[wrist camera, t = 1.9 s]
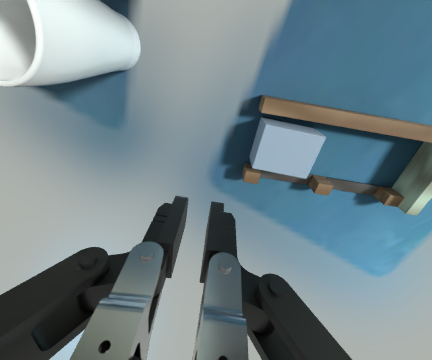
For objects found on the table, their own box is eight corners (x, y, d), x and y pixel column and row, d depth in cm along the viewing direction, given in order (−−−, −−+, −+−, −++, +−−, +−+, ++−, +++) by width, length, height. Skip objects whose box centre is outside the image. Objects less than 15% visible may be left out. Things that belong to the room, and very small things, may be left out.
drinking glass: (89, 67, 24) (-81, 68, 11) (86, -6, 20) (-165, -137, 7) (146, 84, 24) (51, 104, 11) (152, 15, 21) (28, -71, 8)
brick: (260, 116, 26) (266, 124, 22) (313, 127, 26) (326, 137, 23) (249, 155, 28) (252, 168, 25) (296, 165, 29) (306, 178, 25)
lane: (261, 95, 24) (267, 99, 21) (446, 128, 25) (481, 137, 21) (242, 173, 29) (244, 187, 26) (394, 198, 30) (416, 215, 27)
